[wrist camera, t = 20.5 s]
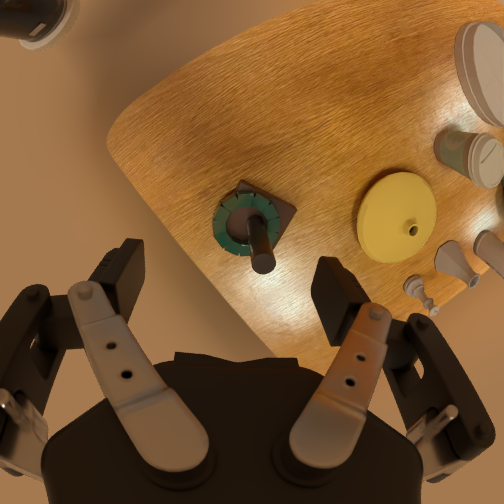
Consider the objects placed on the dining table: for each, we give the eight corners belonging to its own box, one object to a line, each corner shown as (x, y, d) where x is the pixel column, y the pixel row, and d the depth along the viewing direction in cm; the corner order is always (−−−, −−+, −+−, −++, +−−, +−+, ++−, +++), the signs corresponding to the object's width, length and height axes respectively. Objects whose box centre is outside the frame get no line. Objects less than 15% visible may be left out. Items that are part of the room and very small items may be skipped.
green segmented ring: (202, 234, 41) (201, 240, 39) (232, 178, 37) (232, 182, 36) (258, 259, 43) (259, 265, 42) (290, 208, 40) (292, 213, 38)
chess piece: (406, 275, 49) (432, 306, 40) (422, 274, 50) (449, 303, 41) (400, 293, 51) (424, 325, 42) (416, 291, 52) (440, 321, 43)
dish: (437, 56, 30) (455, 54, 25) (476, 6, 22) (491, 3, 18) (492, 147, 37) (509, 153, 33) (524, 89, 30) (539, 92, 25)
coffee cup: (459, 123, 35) (507, 135, 25) (460, 168, 39) (506, 188, 29) (426, 123, 36) (476, 134, 25) (428, 172, 40) (475, 195, 29)
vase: (361, 268, 47) (377, 291, 41) (337, 188, 40) (356, 203, 34) (430, 234, 45) (452, 252, 39) (418, 155, 38) (445, 165, 32)
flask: (460, 236, 46) (490, 260, 37) (455, 266, 50) (482, 291, 41) (435, 244, 46) (466, 270, 38) (431, 274, 50) (457, 302, 41)
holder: (213, 232, 42) (208, 281, 31) (240, 179, 39) (245, 210, 27) (266, 255, 45) (278, 307, 33) (295, 206, 41) (320, 246, 30)
